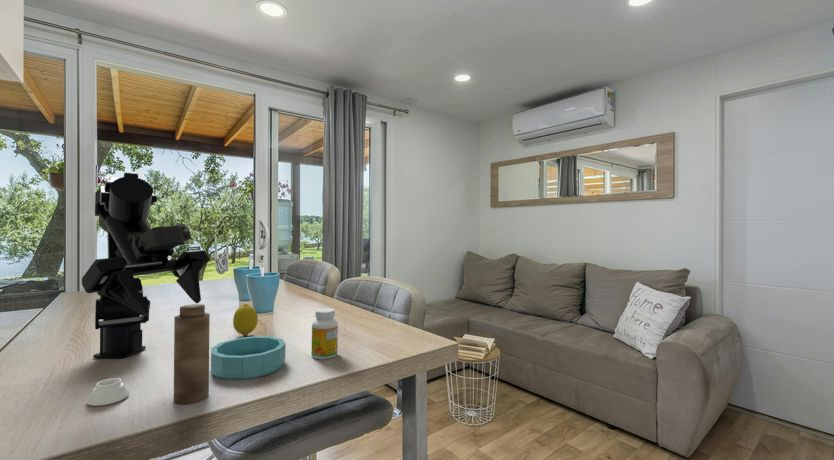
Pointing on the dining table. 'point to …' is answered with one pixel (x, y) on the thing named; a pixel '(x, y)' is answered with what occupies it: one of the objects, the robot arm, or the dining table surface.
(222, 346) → the bowl
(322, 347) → the supplement bottle
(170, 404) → the dining table surface
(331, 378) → the dining table surface
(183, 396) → the pepper mill
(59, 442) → the dining table surface
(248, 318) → the lemon
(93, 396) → the lidless jar
